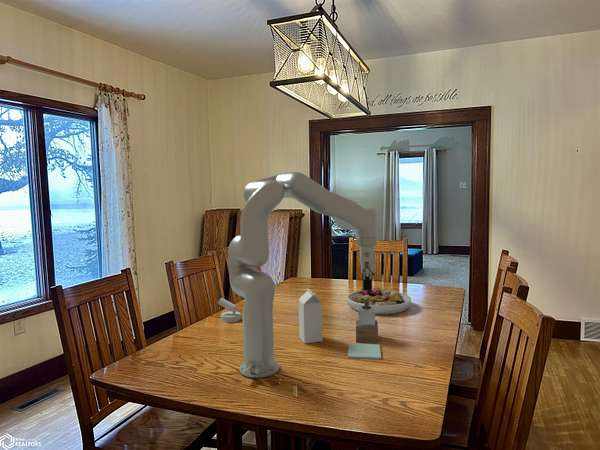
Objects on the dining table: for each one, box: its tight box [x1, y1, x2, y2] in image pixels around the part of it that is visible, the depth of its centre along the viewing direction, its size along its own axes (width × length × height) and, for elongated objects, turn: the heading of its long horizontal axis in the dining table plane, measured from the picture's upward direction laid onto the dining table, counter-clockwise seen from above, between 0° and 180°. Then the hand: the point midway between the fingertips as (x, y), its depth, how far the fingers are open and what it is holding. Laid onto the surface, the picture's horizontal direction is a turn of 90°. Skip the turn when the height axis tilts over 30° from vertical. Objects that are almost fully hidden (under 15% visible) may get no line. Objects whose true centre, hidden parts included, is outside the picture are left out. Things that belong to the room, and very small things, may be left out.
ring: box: [358, 305, 376, 326], centre depth 158 cm, size 6×6×6 cm
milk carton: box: [298, 288, 324, 344], centre depth 159 cm, size 7×7×19 cm
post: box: [355, 299, 379, 344], centre depth 159 cm, size 8×8×15 cm
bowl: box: [346, 286, 412, 316], centre depth 201 cm, size 30×30×8 cm
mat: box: [347, 342, 382, 360], centre depth 146 cm, size 12×11×1 cm
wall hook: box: [217, 297, 242, 324], centre depth 186 cm, size 9×10×10 cm
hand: (367, 286), depth 158 cm, fingers open, 9 cm apart
